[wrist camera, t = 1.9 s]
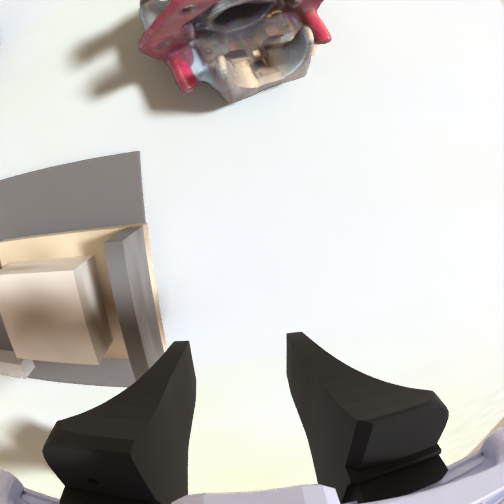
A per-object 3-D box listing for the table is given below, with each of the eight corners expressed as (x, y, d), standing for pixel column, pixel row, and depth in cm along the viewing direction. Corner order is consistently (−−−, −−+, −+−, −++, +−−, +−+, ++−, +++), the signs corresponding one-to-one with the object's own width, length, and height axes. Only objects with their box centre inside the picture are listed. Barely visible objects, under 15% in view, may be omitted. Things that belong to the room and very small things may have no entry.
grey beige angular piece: (170, 341, 22) (156, 394, 16) (40, 339, 21) (6, 379, 15) (151, 219, 19) (122, 240, 13) (13, 236, 18) (-36, 257, 13)
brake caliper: (197, 163, 17) (86, -24, 5) (160, 72, 21) (95, -46, 9) (370, 93, 16) (377, -88, 5) (288, 22, 20) (264, -99, 9)
